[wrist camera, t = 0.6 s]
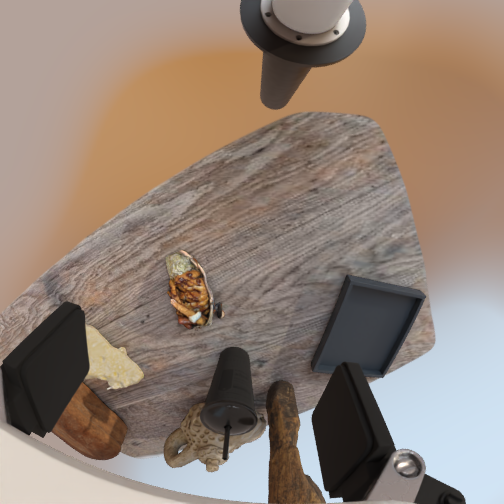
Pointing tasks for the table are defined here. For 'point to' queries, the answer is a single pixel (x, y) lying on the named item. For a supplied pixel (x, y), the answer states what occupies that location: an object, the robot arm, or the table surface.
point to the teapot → (204, 441)
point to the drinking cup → (230, 398)
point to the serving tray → (367, 326)
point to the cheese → (110, 362)
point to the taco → (190, 291)
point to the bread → (90, 426)
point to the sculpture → (287, 451)
